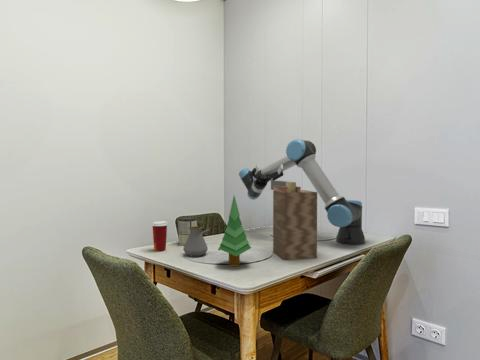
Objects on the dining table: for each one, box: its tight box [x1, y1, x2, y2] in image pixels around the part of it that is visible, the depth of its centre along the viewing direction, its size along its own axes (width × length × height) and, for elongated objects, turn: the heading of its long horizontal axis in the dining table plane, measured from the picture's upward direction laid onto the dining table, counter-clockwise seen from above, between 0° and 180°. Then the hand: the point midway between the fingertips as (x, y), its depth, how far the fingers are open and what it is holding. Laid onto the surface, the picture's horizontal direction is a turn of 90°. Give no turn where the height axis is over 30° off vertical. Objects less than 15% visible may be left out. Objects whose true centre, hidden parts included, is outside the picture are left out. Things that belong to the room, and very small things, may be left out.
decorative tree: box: [217, 194, 252, 267], centre depth 142 cm, size 14×16×30 cm
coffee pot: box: [182, 220, 226, 257], centre depth 162 cm, size 21×12×15 cm, turn 119°
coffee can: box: [177, 216, 198, 247], centre depth 182 cm, size 10×10×14 cm
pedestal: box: [272, 185, 318, 261], centre depth 158 cm, size 16×14×32 cm
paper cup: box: [151, 220, 168, 252], centre depth 168 cm, size 8×8×14 cm
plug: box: [270, 180, 297, 193], centre depth 161 cm, size 4×22×4 cm, turn 14°
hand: (270, 166), depth 181 cm, fingers open, 13 cm apart
